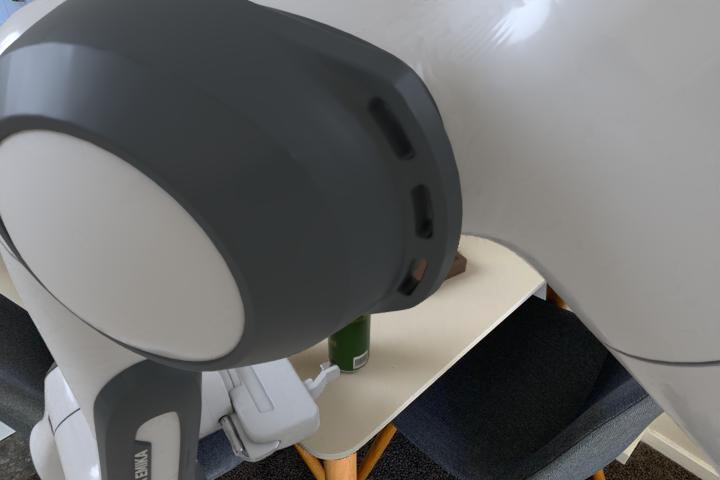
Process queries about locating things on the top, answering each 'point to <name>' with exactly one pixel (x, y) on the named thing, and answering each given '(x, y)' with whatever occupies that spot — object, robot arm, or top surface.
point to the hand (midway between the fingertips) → (317, 339)
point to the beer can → (351, 345)
